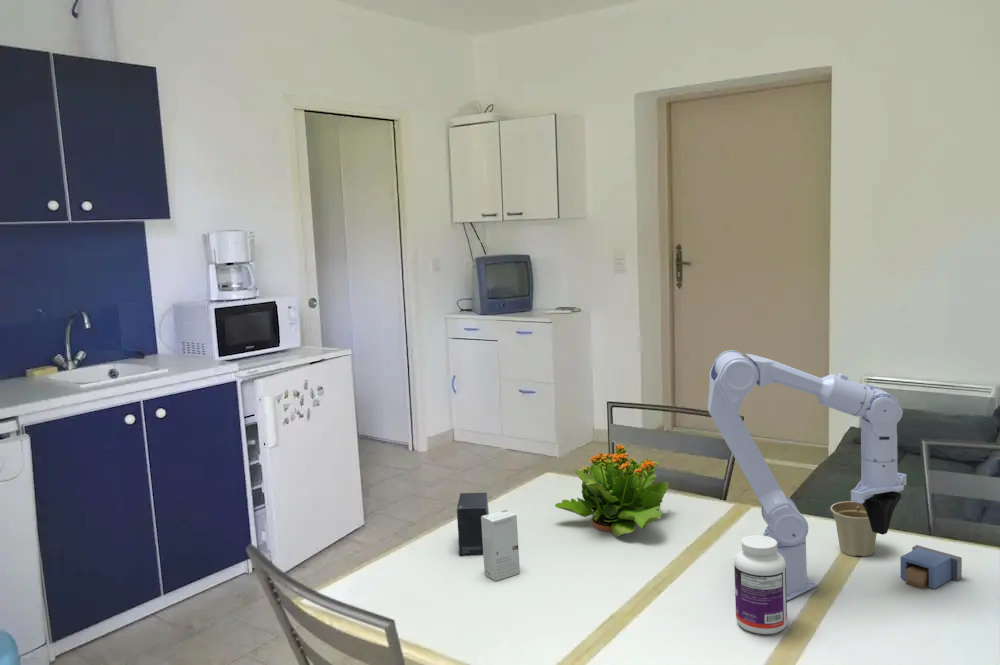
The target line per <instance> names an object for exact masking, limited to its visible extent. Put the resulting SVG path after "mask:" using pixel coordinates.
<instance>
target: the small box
mask: <svg viewBox="0 0 1000 665" xmlns="http://www.w3.org/2000/svg"><path fill="white" fill-rule="evenodd" d="M488 499H489V498H488V492H460V493H459V498H458V502H457V506H456V517H457V518H456V520H457V521H456V522H457V531H458V532H457V534H458V535H457V536H458V553H459V554H460V555H459V554H458V555H459V556H462V555H461V554H477V555H483V541H482V524H481V516H484V515H488V514H490V512H489V502H488Z"/></svg>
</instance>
